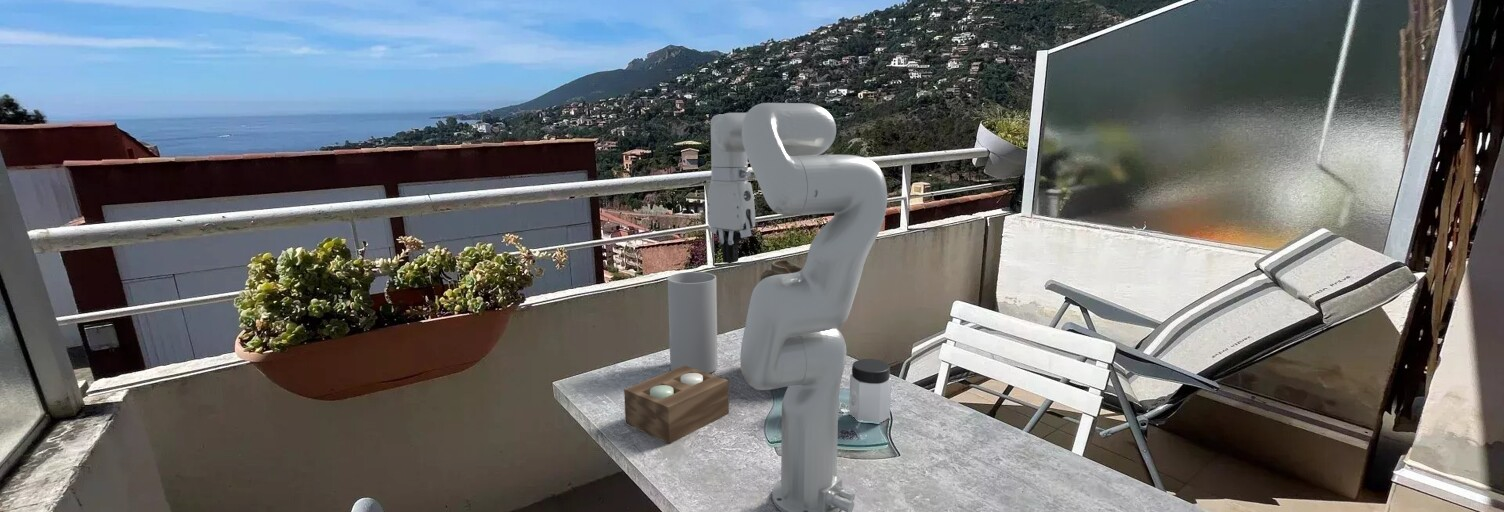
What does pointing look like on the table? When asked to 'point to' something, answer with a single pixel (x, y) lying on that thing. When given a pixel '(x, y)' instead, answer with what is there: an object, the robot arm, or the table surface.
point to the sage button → (661, 391)
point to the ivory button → (691, 378)
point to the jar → (870, 390)
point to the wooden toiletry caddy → (676, 404)
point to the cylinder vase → (693, 321)
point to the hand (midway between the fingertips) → (730, 261)
